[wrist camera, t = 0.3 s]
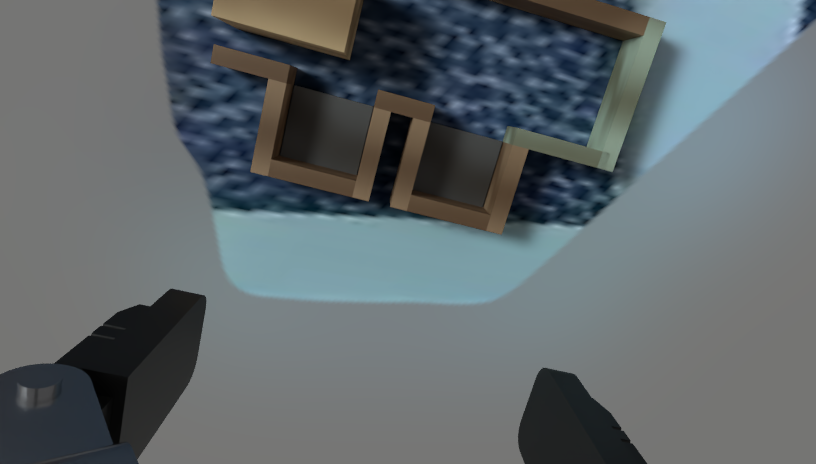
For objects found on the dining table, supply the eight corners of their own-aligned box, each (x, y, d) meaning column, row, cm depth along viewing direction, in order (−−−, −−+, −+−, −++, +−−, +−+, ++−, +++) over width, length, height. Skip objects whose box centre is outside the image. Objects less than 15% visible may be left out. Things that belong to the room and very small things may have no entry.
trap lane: (251, -93, 34) (239, -111, 31) (643, 28, 37) (666, 22, 34) (209, 153, 38) (194, 157, 35) (568, 244, 41) (582, 254, 38)
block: (252, -47, 35) (226, -77, 29) (366, -13, 36) (363, -35, 30) (238, 29, 36) (211, 15, 30) (349, 60, 37) (344, 52, 31)
